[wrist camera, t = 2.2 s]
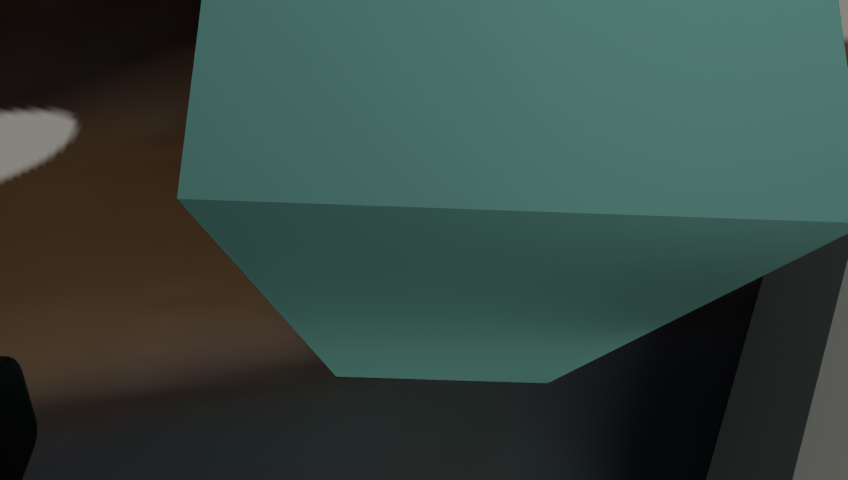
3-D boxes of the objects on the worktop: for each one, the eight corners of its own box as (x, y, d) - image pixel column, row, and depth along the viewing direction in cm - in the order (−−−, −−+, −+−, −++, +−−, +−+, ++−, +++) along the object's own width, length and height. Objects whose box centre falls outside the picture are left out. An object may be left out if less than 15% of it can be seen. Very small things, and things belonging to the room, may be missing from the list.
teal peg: (547, 383, 18) (867, 223, 6) (336, 376, 18) (177, 199, 5) (544, 184, 19) (797, -307, 7) (348, 177, 19) (242, -331, 7)
